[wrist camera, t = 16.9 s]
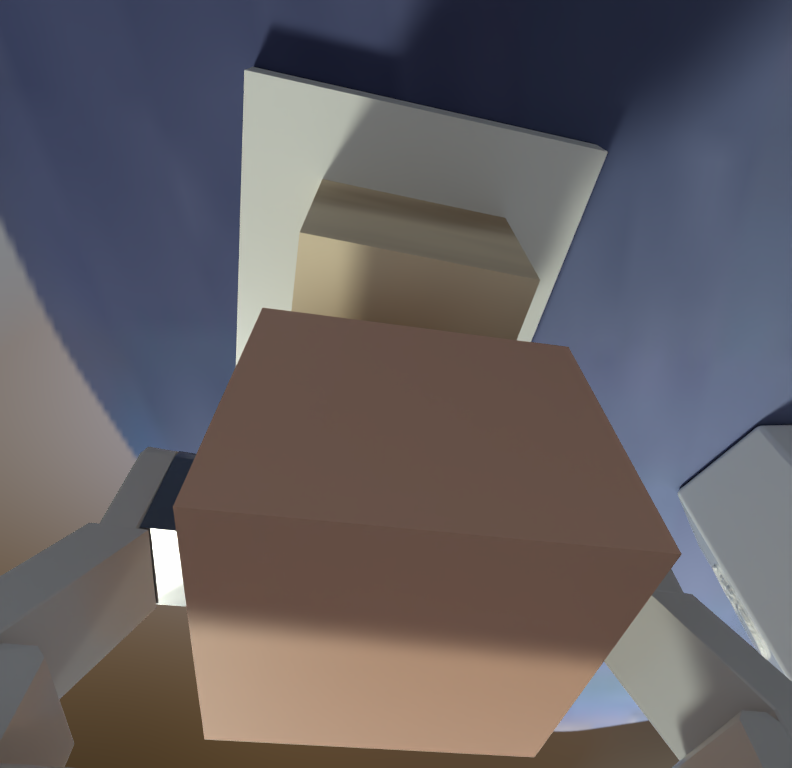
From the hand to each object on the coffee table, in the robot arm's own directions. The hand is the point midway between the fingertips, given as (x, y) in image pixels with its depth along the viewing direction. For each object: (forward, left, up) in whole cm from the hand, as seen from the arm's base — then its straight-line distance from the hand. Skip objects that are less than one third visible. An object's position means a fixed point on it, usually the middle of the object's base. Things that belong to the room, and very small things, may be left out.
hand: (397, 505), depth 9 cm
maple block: (0, 0, -9) cm, 9 cm away
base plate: (0, 0, -10) cm, 10 cm away
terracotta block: (0, 0, -2) cm, 2 cm away
